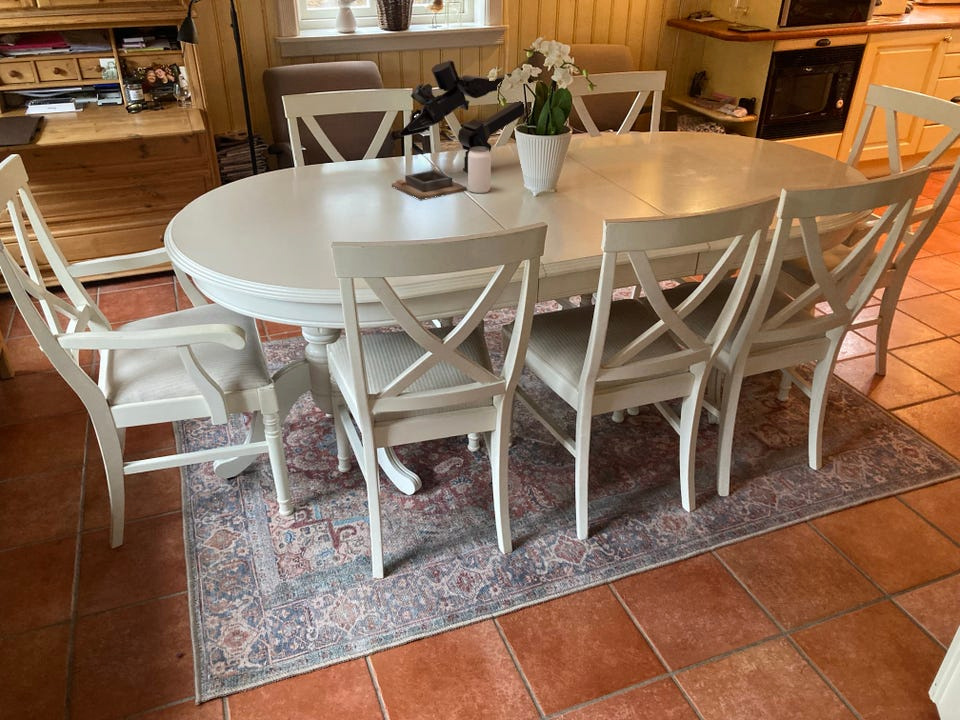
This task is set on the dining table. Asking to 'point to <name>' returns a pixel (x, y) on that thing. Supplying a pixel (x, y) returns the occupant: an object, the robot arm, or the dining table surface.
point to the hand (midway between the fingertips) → (404, 132)
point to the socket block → (428, 185)
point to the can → (479, 170)
